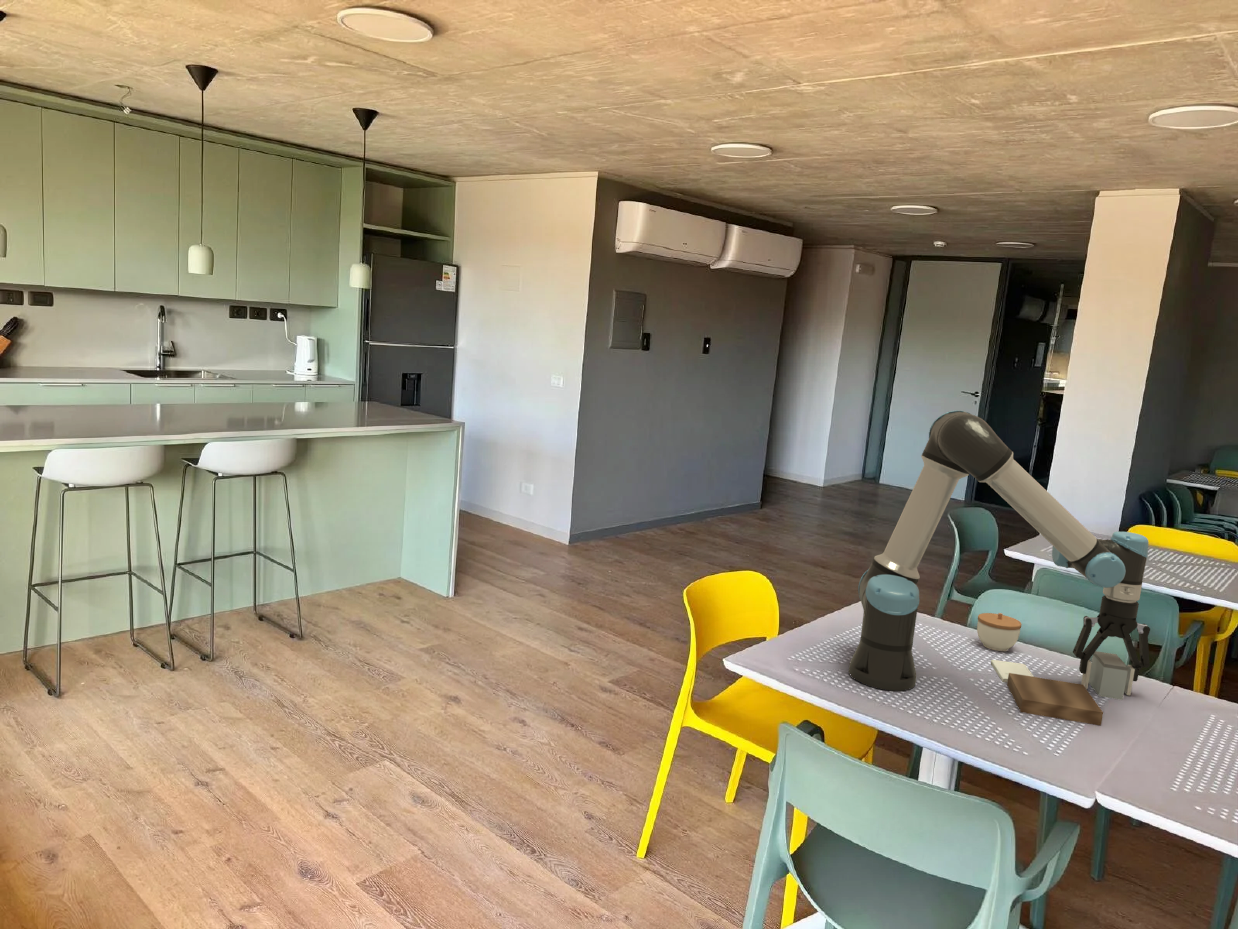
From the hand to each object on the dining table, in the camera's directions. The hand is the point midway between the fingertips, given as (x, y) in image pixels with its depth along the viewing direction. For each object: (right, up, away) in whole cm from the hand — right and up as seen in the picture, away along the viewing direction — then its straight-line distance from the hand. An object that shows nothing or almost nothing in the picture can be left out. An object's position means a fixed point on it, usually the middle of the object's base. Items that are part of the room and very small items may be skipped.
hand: (1105, 689), depth 203 cm
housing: (0, 0, 0) cm, 0 cm away
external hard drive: (-19, +1, +6) cm, 20 cm away
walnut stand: (-18, 0, -11) cm, 21 cm away
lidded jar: (-15, +4, +25) cm, 30 cm away
